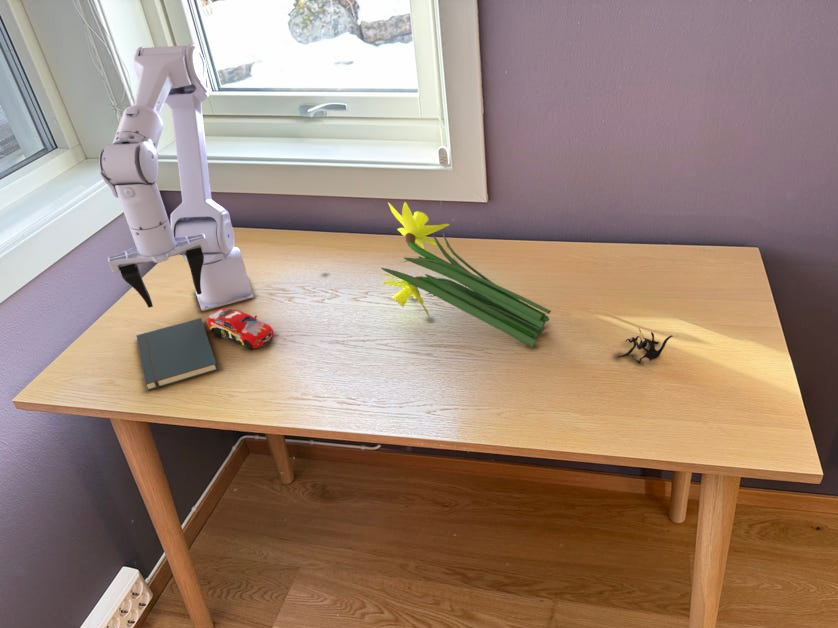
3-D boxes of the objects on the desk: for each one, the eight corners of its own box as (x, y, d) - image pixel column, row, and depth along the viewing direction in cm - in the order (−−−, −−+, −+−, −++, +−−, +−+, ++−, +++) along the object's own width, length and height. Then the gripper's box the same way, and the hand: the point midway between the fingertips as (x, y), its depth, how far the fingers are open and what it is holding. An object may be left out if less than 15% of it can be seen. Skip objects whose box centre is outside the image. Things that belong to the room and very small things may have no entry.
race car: (281, 338, 131) (276, 319, 129) (257, 354, 127) (252, 335, 125) (229, 317, 137) (223, 298, 135) (205, 332, 134) (199, 313, 131)
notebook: (203, 324, 136) (201, 317, 135) (218, 370, 124) (216, 363, 124) (138, 342, 132) (136, 335, 132) (148, 391, 121) (145, 384, 120)
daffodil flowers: (508, 377, 120) (333, 278, 129) (533, 369, 134) (374, 280, 143) (555, 281, 116) (372, 186, 126) (577, 283, 130) (410, 197, 139)
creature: (608, 357, 123) (638, 374, 117) (605, 327, 121) (635, 342, 114) (647, 343, 126) (679, 358, 119) (645, 313, 124) (677, 326, 117)
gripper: (99, 244, 110) (130, 322, 118) (201, 220, 115) (224, 296, 123) (96, 225, 115) (125, 301, 124) (193, 203, 120) (216, 277, 128)
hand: (174, 297), depth 124 cm, fingers open, 7 cm apart
